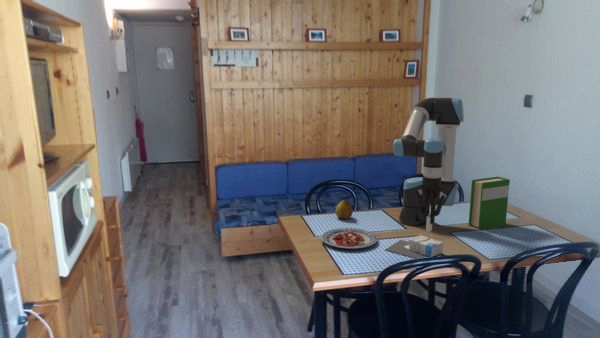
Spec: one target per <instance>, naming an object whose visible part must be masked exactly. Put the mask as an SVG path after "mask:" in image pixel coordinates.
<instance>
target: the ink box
mask: <svg viewBox="0 0 600 338" xmlns="http://www.w3.org/2000/svg"><path fill="white" fill-rule="evenodd" d="M408 239H409V238H408ZM408 242H409V245H407V246H404V247H405V248H407V249H409V250H412V251H415V252H417V253H420V254H423V255H426V256H429V257H431V258H434V257H435V256H438V255H440V254H443V250H444V249H443V248H444V247H443V246H444V242H443V241H439V240H437V239H433V238H430V237H427V236H425V235H421V234H420V235H417V236H414V237H411V238H410V239H409V240H408Z"/></svg>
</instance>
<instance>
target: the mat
mask: <svg viewBox="0 0 600 338" xmlns="http://www.w3.org/2000/svg"><path fill="white" fill-rule="evenodd" d="M407 245H409V241H407V240H403V239H400V240H398V241H397V242H394V243H393V244H391V245H390V246H388V247H387V248H385V249H384V251H385V250H386V251H387V252H389V251H390V253H393V254H396V253H397V255H400V254H401V255H400V256H404V257H407V256H408V258H412V259H415V260H417V259H416V258H425V257H429V256H426V255H423V254H420V253H417V252H415V251H412V250H409V249H407V248H405V247H404V246H407ZM386 251H385V252H386Z"/></svg>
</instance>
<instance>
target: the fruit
mask: <svg viewBox="0 0 600 338" xmlns="http://www.w3.org/2000/svg"><path fill="white" fill-rule="evenodd" d="M335 214H336V216H337V218H339V219H340V220H342V219H343V220H347V219H350V218H351V217H352V215H353V207H352V205H351V202H350V201H349V200H348V197H346V198H345V199H342V200H341V201H340V202H339V203H338V204H337V205H336V208H335Z"/></svg>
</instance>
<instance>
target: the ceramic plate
mask: <svg viewBox="0 0 600 338" xmlns="http://www.w3.org/2000/svg"><path fill="white" fill-rule="evenodd" d="M320 238H321V240H322V242H324V243H325V244H326V245H329V246H332V247H335V248H341V249H348V250H349V249H351V250H352V249H363V248H367V247H370V246H372V245H374V244H376V243H377V241H378V237H377V236H376V234H374V233H372V232H371V231H368V230H365V229H361V228H354V227H340V228H333V229H330V230H327V231H325V232H323V233H322V234H321V237H320Z"/></svg>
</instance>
